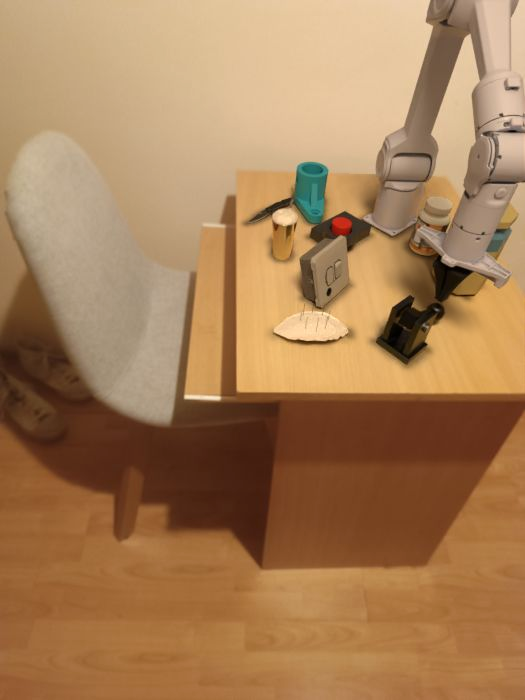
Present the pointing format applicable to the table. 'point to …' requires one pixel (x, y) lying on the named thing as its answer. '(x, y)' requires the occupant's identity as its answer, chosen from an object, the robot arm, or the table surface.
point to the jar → (494, 249)
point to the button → (341, 226)
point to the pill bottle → (432, 222)
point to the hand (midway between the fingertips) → (441, 298)
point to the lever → (420, 314)
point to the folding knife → (271, 209)
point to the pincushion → (311, 326)
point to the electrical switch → (325, 270)
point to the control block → (356, 234)
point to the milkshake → (283, 232)
